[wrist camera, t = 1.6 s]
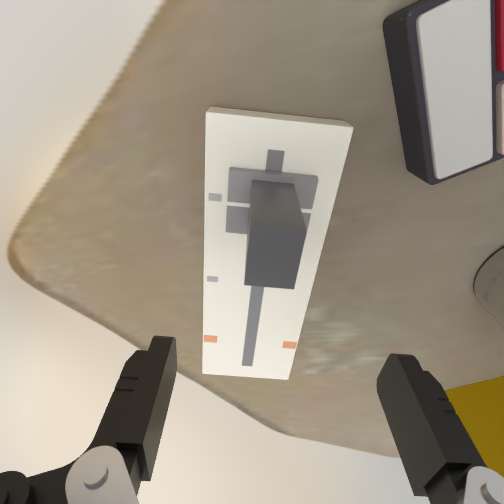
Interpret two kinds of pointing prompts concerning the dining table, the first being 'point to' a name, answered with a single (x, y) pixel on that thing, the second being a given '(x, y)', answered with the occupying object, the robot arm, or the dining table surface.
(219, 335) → the fader console
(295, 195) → the fader tab
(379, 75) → the dining table surface
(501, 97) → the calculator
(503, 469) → the lunch box
